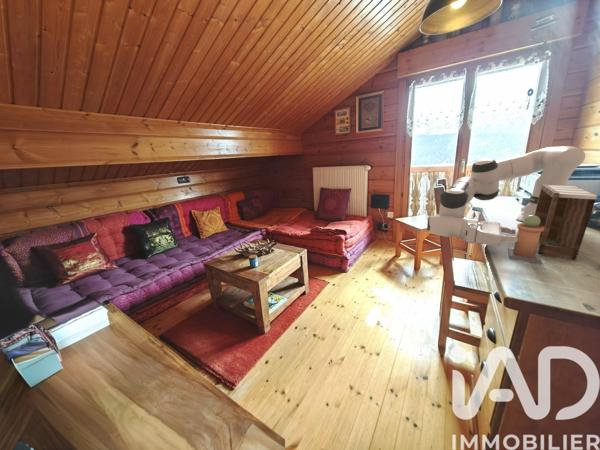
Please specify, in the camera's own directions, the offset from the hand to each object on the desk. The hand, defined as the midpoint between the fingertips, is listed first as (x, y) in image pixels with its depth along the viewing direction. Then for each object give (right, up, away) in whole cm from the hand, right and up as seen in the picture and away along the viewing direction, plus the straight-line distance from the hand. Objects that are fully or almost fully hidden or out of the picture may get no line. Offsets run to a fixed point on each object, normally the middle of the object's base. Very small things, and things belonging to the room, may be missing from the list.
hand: (516, 235), depth 88 cm
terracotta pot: (+3, -7, 0) cm, 8 cm away
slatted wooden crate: (+21, -5, +9) cm, 23 cm away
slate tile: (+3, -8, +1) cm, 9 cm away
